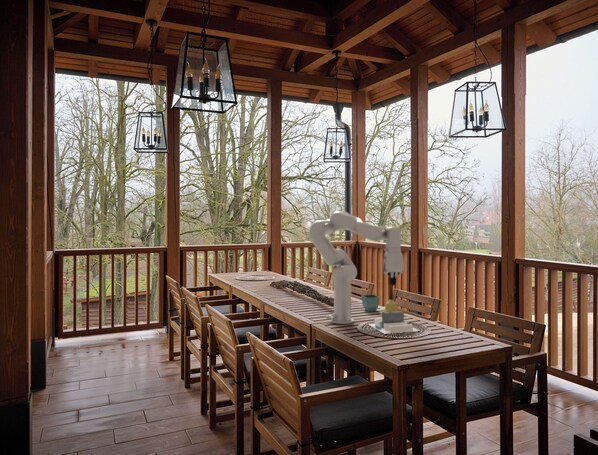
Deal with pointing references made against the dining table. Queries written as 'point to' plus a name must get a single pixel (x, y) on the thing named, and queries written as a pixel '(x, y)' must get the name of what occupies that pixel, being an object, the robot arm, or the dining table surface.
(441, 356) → the dining table surface
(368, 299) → the flower pot
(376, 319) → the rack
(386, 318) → the panel
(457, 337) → the dining table surface
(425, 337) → the dining table surface
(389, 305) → the handbell
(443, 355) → the dining table surface
